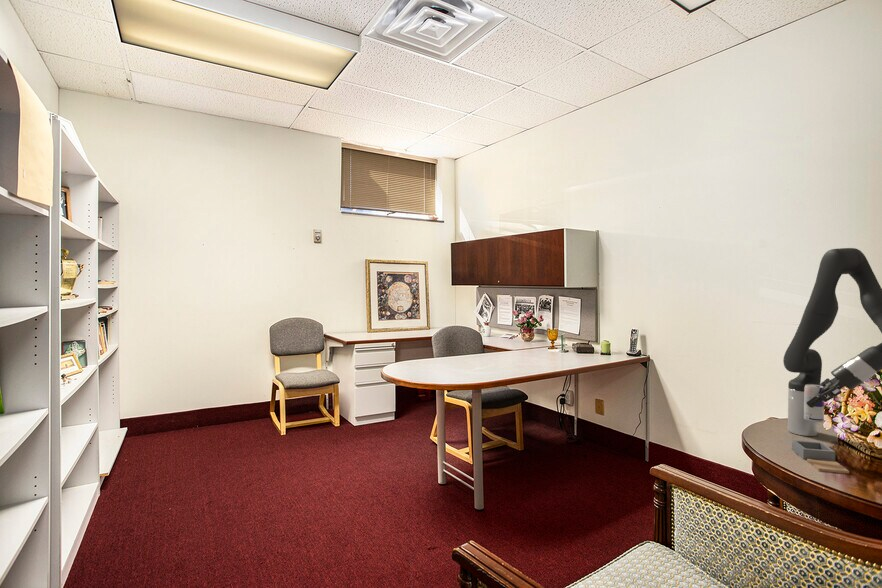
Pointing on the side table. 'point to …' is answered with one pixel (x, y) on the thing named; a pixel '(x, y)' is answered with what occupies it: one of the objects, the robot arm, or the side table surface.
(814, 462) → the light tan wooden coaster
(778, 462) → the side table surface
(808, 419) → the energy drink
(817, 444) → the square collar
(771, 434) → the side table surface
